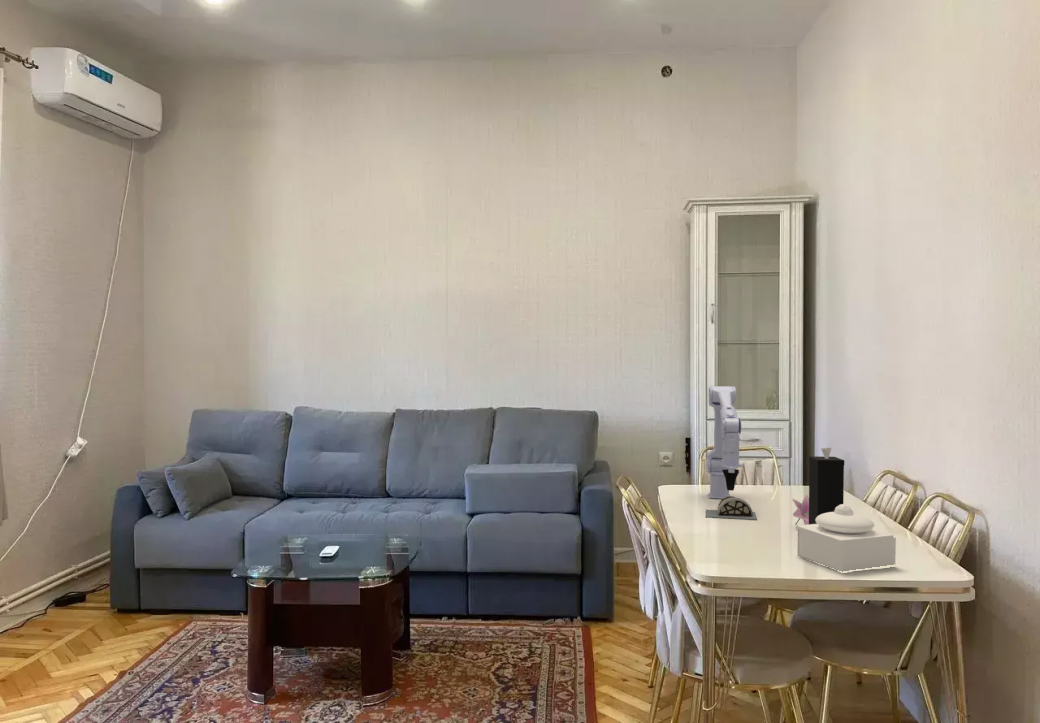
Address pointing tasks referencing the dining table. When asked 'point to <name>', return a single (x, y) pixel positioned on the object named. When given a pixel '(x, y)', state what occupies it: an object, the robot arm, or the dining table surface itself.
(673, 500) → the dining table surface
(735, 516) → the mat
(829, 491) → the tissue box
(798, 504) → the lily
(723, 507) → the food container
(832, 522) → the butter dish
